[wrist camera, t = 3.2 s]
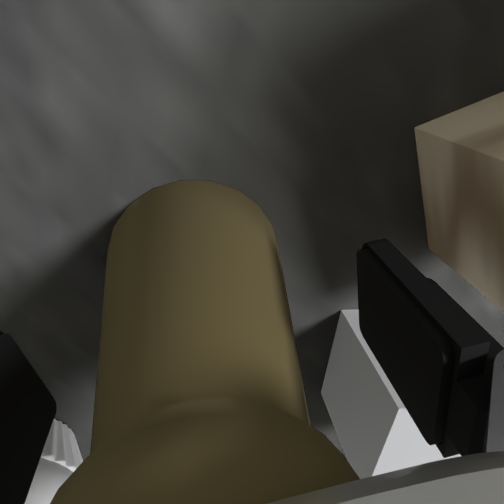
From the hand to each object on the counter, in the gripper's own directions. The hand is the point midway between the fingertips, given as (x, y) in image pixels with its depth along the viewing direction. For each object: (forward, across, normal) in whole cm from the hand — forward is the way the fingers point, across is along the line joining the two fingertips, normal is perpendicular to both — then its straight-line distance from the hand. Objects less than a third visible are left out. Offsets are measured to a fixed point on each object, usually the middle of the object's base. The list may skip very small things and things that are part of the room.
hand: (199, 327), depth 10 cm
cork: (+4, 0, 0) cm, 4 cm away
